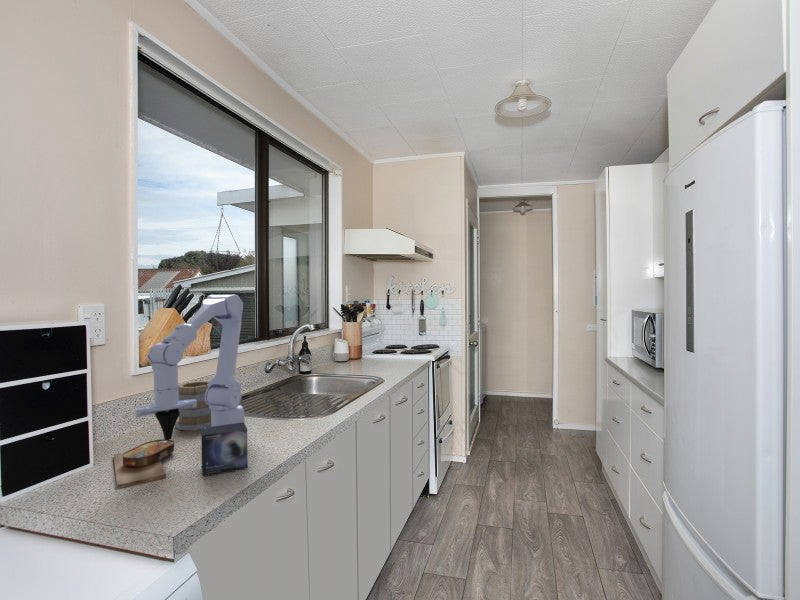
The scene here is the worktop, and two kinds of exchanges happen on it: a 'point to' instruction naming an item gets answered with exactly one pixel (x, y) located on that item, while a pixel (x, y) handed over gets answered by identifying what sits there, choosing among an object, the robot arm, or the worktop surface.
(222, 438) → the small box
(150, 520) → the worktop surface
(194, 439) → the worktop surface
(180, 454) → the worktop surface
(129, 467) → the chopping board
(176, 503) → the worktop surface
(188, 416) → the tankard
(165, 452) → the tin
